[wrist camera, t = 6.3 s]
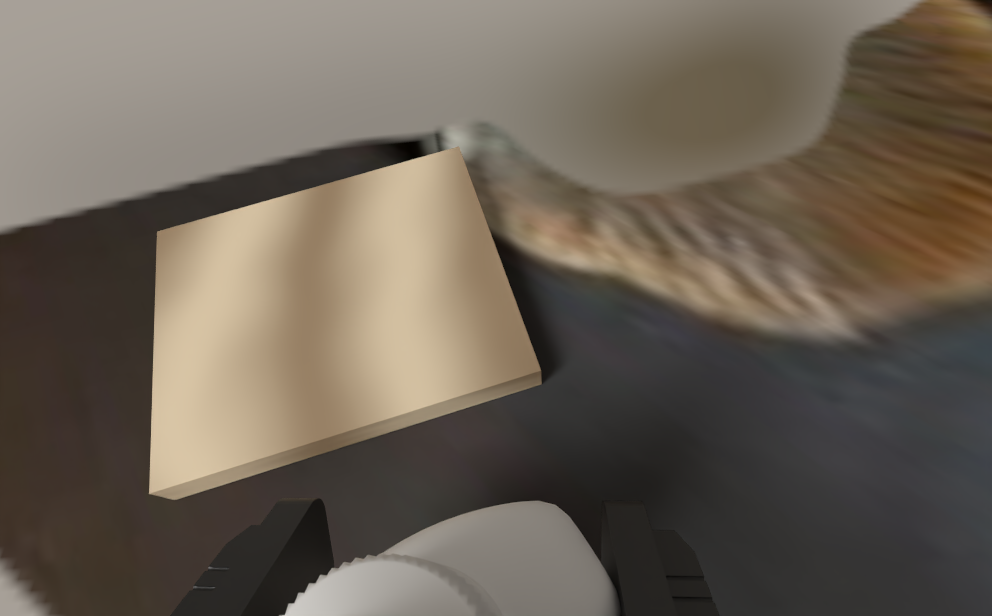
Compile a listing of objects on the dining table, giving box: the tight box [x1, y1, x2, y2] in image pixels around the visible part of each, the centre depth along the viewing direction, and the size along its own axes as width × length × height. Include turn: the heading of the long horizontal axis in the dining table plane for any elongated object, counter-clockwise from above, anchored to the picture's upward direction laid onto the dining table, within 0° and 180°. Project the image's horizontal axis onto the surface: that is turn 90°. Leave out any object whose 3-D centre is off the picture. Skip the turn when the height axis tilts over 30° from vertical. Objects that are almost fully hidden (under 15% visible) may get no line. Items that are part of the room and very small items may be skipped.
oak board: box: [149, 147, 542, 500], centre depth 19 cm, size 12×10×1 cm
